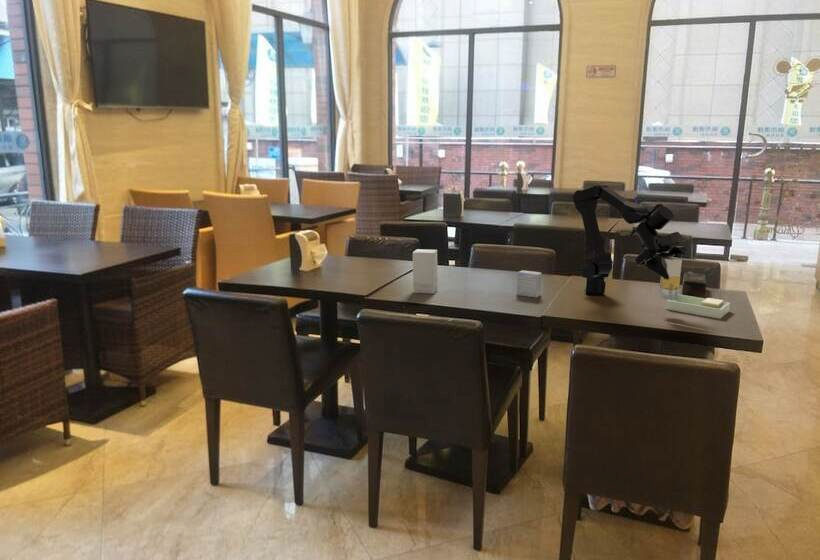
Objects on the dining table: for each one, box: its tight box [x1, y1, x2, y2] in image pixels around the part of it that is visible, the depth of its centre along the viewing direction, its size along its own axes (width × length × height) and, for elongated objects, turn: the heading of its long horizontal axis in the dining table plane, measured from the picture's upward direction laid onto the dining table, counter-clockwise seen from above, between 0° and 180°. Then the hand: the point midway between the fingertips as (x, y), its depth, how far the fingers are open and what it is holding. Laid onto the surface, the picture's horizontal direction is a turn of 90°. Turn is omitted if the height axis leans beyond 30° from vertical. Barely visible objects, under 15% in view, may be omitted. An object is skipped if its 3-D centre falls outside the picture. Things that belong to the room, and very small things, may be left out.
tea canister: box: [659, 257, 683, 301], centre depth 208 cm, size 6×6×13 cm
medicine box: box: [516, 270, 543, 299], centre depth 234 cm, size 8×4×9 cm, turn 59°
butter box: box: [701, 297, 725, 309], centre depth 213 cm, size 5×7×4 cm
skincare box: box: [412, 248, 439, 295], centre depth 237 cm, size 8×7×16 cm
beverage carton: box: [681, 271, 707, 299], centre depth 242 cm, size 8×19×7 cm, turn 156°
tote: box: [665, 293, 731, 320], centre depth 216 cm, size 17×11×4 cm, turn 51°
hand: (674, 277), depth 207 cm, fingers closed on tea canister, 6 cm apart
